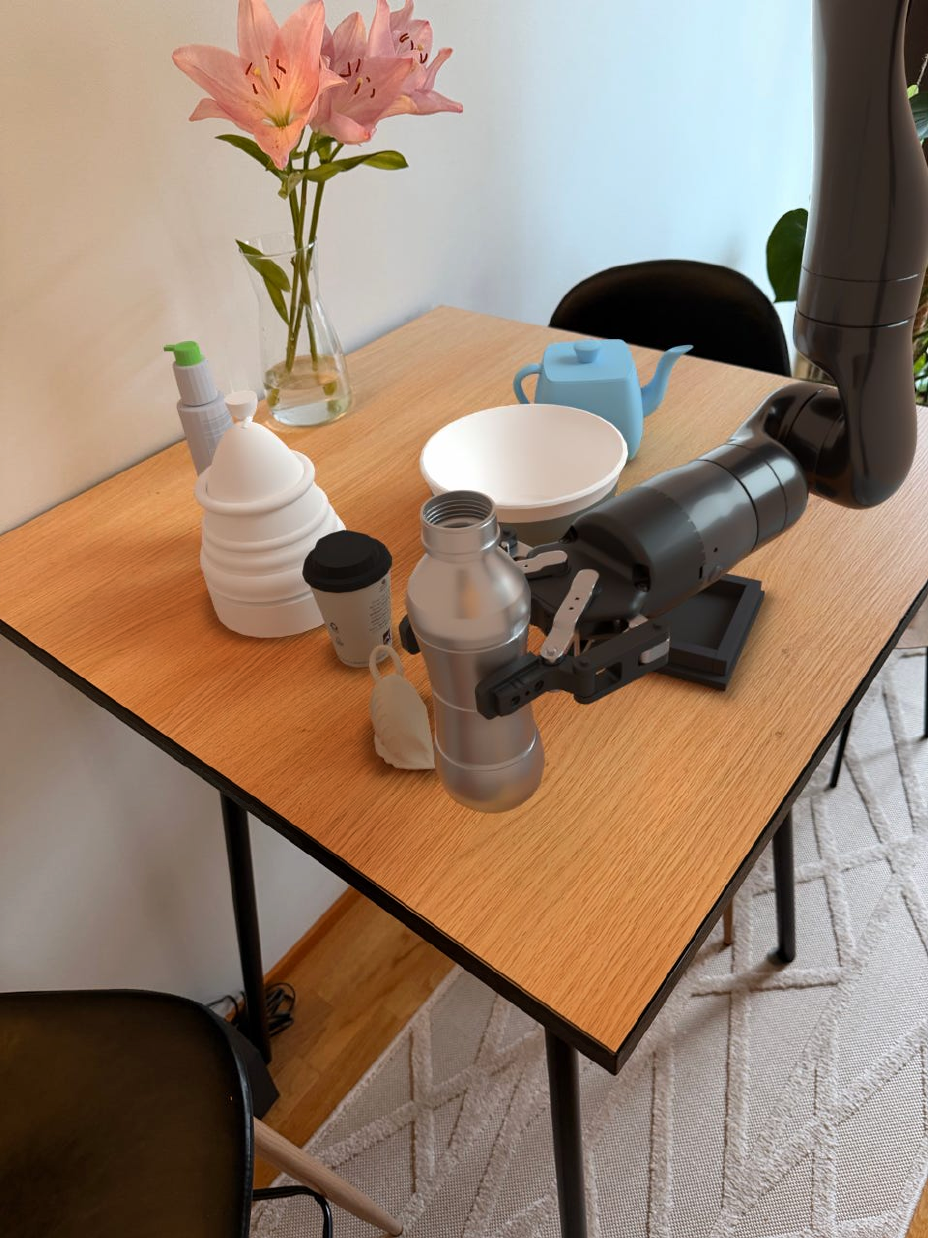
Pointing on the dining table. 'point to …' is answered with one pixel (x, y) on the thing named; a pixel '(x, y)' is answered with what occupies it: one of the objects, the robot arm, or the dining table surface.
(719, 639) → the pad
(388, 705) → the decorative ornament
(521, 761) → the silver metal bottle
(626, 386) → the teapot
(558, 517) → the bowl
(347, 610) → the coffee cup
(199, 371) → the bottle
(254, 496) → the honey pot
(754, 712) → the dining table surface
